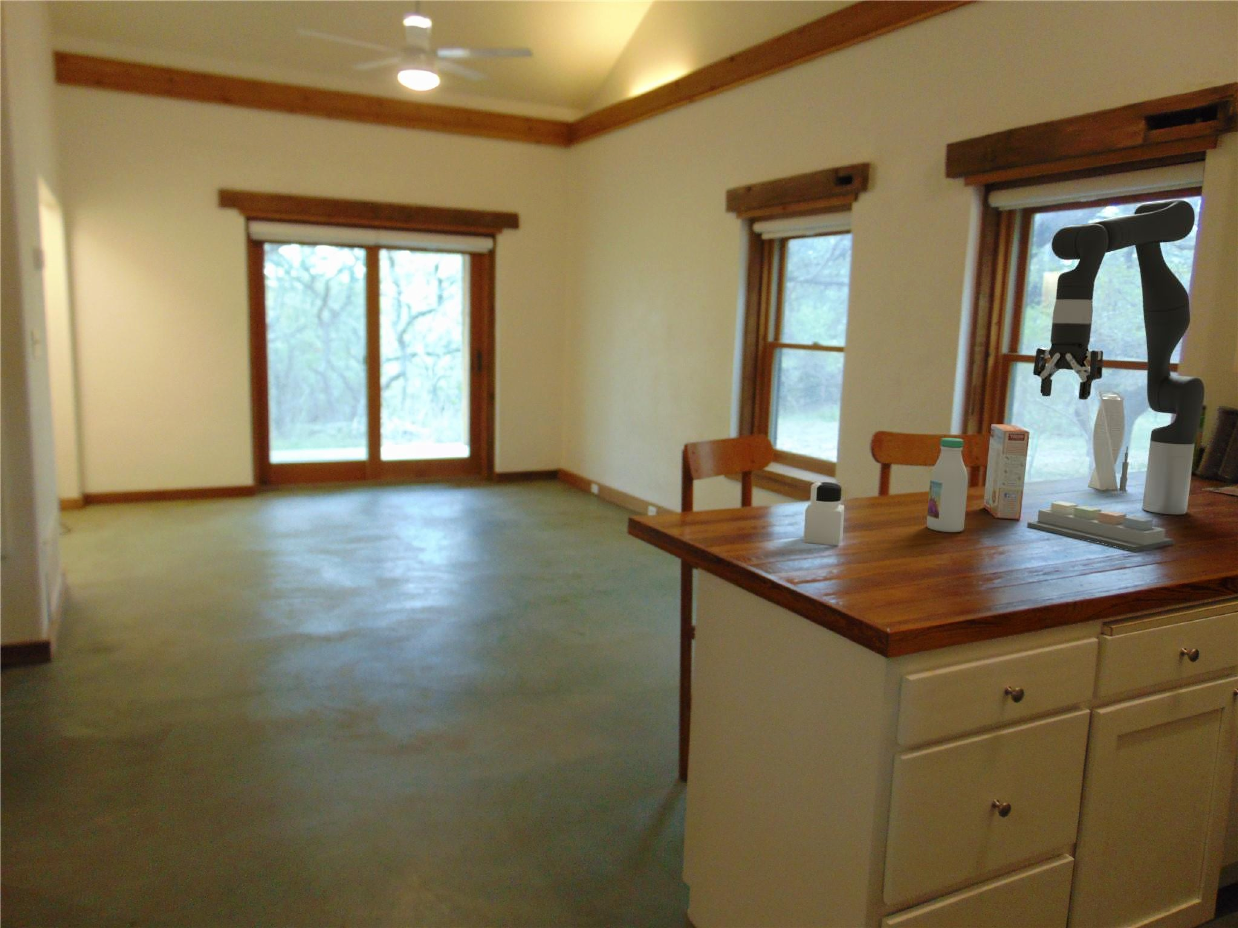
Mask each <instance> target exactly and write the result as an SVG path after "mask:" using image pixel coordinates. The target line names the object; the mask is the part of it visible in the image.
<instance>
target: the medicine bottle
mask: <svg viewBox="0 0 1238 928" xmlns="http://www.w3.org/2000/svg"><path fill="white" fill-rule="evenodd" d="M809 500H810V501H809V503H808V505H807V506H806V508H805V512H804V514H805V515H804V525H803V526H804V529H803V542H804V543H807V544H814V543H815V544H817V545H825V546H828V545H829V546H833V547H834V546H837V547H838V546H840V544H841V542H842V540H843V533H844V517H845V505H844V504H841V501H842V486H841V485H839V484H838V483H835V482H829V481H817V482H815V483H812V485H810V499H809Z"/></svg>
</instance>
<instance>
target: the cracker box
mask: <svg viewBox="0 0 1238 928" xmlns="http://www.w3.org/2000/svg"><path fill="white" fill-rule="evenodd" d="M1029 441H1030V431H1028V430H1026V429H1024V428H1021V427H1019V426H1017V425H1014V424H1004V423H1003V424H999V423H998V424H996V423H993V424H991V426H990V435H989V445H988V448H989V449H988V456H987V466H986V467H987V468H986V476H985V478H986V479H985V487H984V498H983V508H984V509H985V510H987V512H988V513H990V514H991V515H992V516H993V517H994V518H995V519H1000V520H1001V519H1003V520H1015V521H1016V520H1017V521H1018V520H1021V517H1022V516H1021V515H1022V506H1023V498H1024V488H1025V477H1026V470H1027V460H1028V459H1027V458H1028V451H1029Z"/></svg>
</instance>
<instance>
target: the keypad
mask: <svg viewBox="0 0 1238 928" xmlns="http://www.w3.org/2000/svg"><path fill="white" fill-rule="evenodd" d="M1050 511H1051V507H1050V508H1043V509H1042V508H1041V509H1038V512H1037V513H1038V514H1037V520H1034V521H1027V525H1026V526H1027V527H1028V528H1032V529H1035V528H1036V530H1039V529H1041V530H1040V531H1044V532H1048V531H1049V532H1048V533H1052V532H1054V533H1053V534H1056V533H1057V534H1056V535H1061V534H1062V535H1061V536H1065V535H1067V536H1066V537H1070V538H1073V537H1074V538H1075V539H1078V538H1080V539H1079V540H1082V539H1084V540H1083V541H1086V540H1090V541H1089V542H1091V541H1093V542H1092V543H1095V542H1099V543H1104V544H1107V545H1106V546H1108V545H1111V546H1110V547H1112V546H1116V547H1118V548H1117V549H1120V548H1122V549H1121V550H1125V549H1127V550H1126V551H1130V552H1134V553H1135V552H1139V551H1144V549H1145V550H1150V549H1155V548H1158V547H1159V548H1160V547H1164V546H1169V545H1174V539H1173V538H1168V537H1165V536H1166V529H1165V528H1159V527H1154V526H1152V530H1149V531H1140V530H1135V529H1130V528H1126V527H1123V524H1120V525H1111V524H1107V523H1102V522H1098V519H1093V520H1088V519H1083V518H1079V517H1074V514H1068V515H1064V514H1060V513H1055V512H1050ZM1074 538H1073V539H1074ZM1099 543H1098V544H1099ZM1116 547H1115V548H1116Z"/></svg>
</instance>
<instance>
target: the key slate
mask: <svg viewBox="0 0 1238 928" xmlns="http://www.w3.org/2000/svg"><path fill="white" fill-rule="evenodd" d="M1153 521H1154V519H1153V518H1147V517H1143V516H1139V515H1138V516H1137V515H1132V516H1131V515H1130V516H1126V517H1124V523H1123V527H1126V528H1130V529H1135V530H1140V531H1149V530H1152V527H1153Z"/></svg>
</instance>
